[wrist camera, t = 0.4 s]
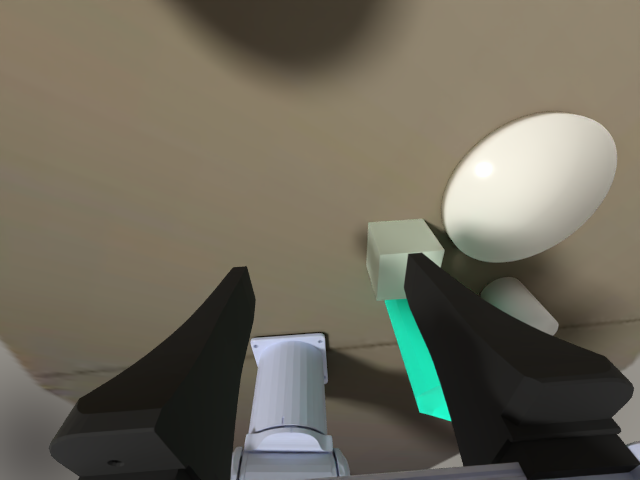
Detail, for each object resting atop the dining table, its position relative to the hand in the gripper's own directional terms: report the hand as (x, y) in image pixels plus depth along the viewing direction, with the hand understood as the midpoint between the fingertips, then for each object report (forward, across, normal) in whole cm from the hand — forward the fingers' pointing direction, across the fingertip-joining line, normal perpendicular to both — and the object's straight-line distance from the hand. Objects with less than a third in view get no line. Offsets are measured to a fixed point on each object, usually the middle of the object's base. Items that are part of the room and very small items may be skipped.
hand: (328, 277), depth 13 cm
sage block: (+10, -6, +6) cm, 13 cm away
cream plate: (+10, -16, +2) cm, 19 cm away
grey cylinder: (+10, -18, +13) cm, 24 cm away
